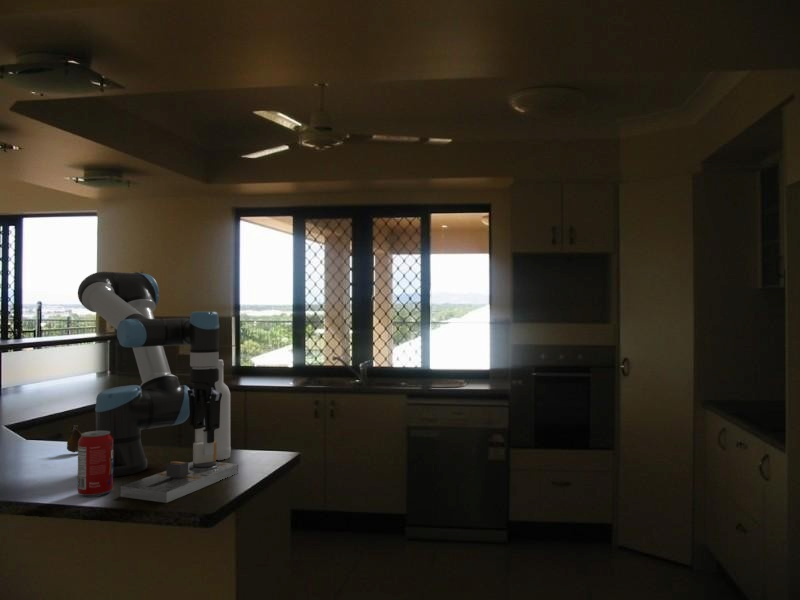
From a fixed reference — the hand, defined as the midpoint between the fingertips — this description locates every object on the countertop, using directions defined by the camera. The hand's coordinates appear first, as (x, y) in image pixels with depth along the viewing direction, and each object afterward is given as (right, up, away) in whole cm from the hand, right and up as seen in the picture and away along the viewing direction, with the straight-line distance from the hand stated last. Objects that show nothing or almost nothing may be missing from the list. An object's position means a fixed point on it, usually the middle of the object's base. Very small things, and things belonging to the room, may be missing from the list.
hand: (204, 453), depth 168 cm
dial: (0, -3, 0) cm, 3 cm away
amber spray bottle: (-50, -7, +27) cm, 57 cm away
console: (-3, -6, -8) cm, 10 cm away
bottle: (-3, -7, +21) cm, 22 cm away
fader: (-4, -6, -10) cm, 12 cm away
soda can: (-22, -6, -16) cm, 28 cm away
